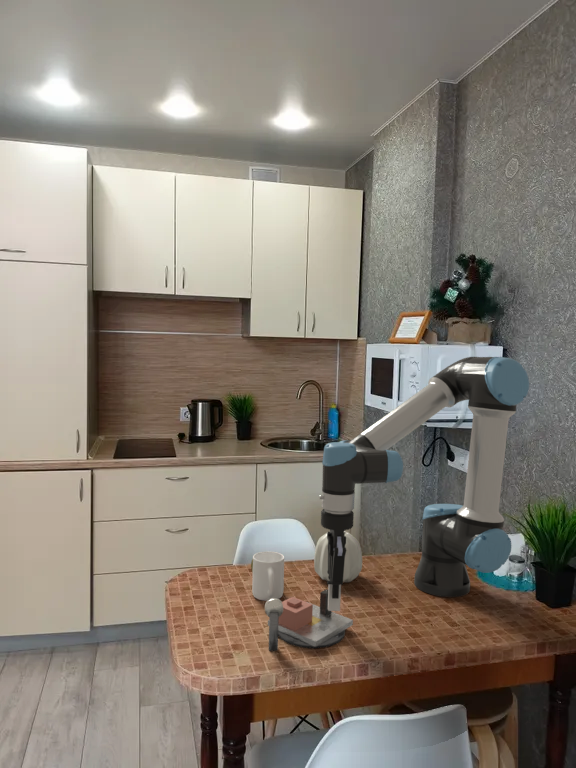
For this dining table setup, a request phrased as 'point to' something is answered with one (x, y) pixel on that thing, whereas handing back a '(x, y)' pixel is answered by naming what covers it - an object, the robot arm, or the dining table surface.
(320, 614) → the turntable
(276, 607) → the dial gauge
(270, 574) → the mug
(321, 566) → the vase
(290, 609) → the cover
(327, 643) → the turntable base
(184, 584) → the dining table surface
